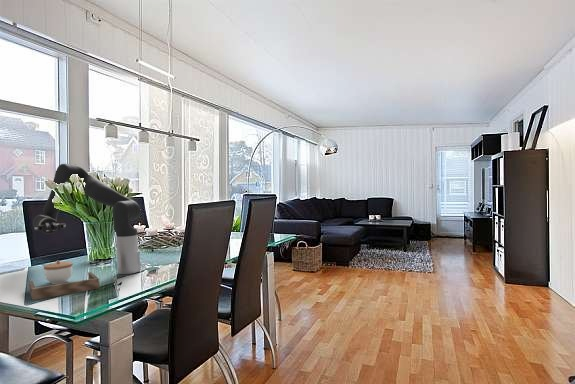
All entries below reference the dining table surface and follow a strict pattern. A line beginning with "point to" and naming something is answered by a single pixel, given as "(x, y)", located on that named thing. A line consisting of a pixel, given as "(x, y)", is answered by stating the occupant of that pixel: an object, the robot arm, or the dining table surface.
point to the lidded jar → (58, 272)
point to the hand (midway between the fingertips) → (52, 228)
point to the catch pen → (64, 287)
